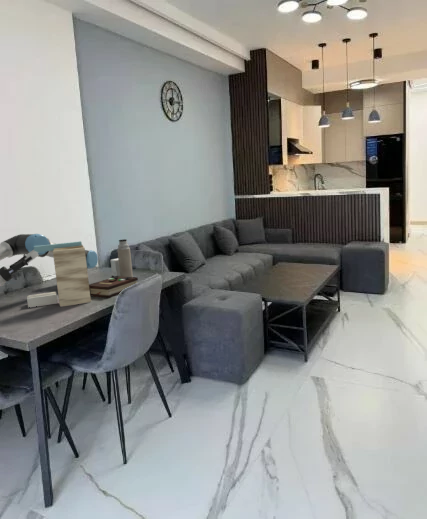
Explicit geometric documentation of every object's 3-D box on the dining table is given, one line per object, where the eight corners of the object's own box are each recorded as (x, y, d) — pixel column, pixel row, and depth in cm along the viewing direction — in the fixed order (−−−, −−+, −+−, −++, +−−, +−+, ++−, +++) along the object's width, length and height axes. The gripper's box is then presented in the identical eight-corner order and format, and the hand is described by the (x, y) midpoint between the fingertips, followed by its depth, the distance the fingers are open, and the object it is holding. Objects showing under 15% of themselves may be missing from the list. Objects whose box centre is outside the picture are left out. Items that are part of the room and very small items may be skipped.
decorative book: (81, 284, 253) (118, 273, 278) (83, 297, 254) (119, 285, 279) (106, 286, 243) (141, 275, 268) (107, 300, 244) (142, 287, 269)
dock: (28, 304, 244) (27, 295, 244) (57, 300, 250) (55, 291, 249) (28, 307, 237) (27, 298, 236) (57, 303, 242) (56, 294, 242)
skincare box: (122, 278, 298) (120, 257, 295) (128, 279, 294) (125, 257, 291) (112, 281, 292) (109, 259, 289) (117, 282, 288) (115, 260, 285)
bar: (34, 251, 232) (33, 246, 232) (81, 246, 241) (80, 241, 240) (34, 252, 230) (33, 246, 229) (82, 247, 238) (81, 241, 237)
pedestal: (59, 302, 244) (52, 247, 238) (89, 298, 249) (82, 244, 244) (60, 306, 234) (52, 249, 229) (90, 302, 240) (84, 245, 235)
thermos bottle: (124, 280, 290) (120, 238, 286) (135, 281, 288) (131, 238, 283) (118, 283, 283) (114, 240, 278) (129, 283, 280) (125, 240, 276)
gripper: (8, 277, 239) (42, 254, 243) (5, 286, 216) (42, 260, 220) (-1, 267, 236) (33, 243, 241) (-6, 274, 213) (32, 248, 218)
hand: (37, 251), depth 231 cm, fingers open, 13 cm apart
